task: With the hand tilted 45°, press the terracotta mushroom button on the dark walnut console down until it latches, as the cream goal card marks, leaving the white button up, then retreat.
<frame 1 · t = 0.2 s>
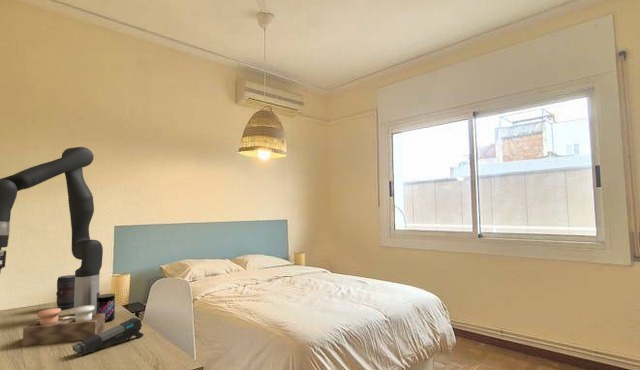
supplement container: (105, 321, 143), on the table
gun: (110, 347, 116), on the table
terracotta button: (49, 320, 124), point 7 cm above the table, slide at 0.0 cm
white button: (83, 317, 127), point 7 cm above the table, slide at 0.0 cm
console: (66, 337, 125), on the table
camera lens: (66, 308, 164), on the table
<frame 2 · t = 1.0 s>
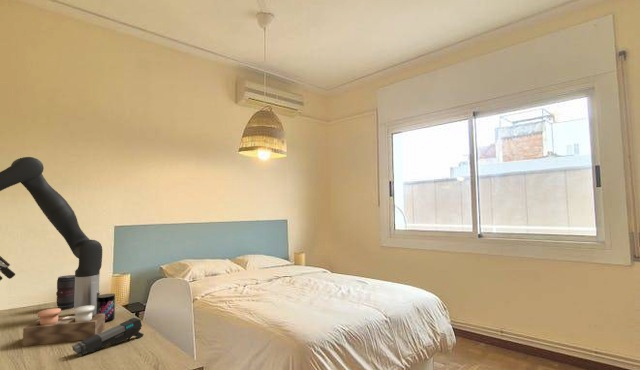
hand: (6, 278, 122), 23 cm above the table, tool tilted 45°, fingers open, 7 cm apart
nothing on the table moved.
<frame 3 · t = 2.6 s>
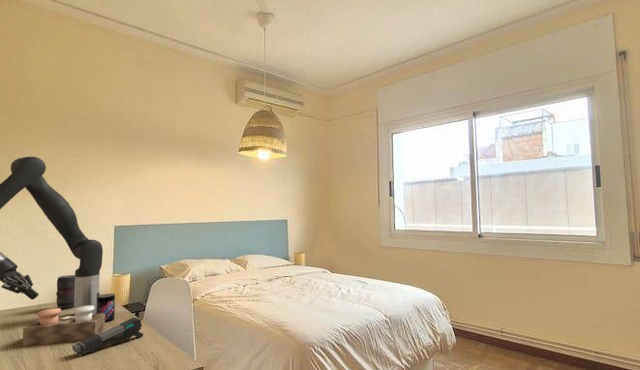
hand: (35, 297, 124), 15 cm above the table, tool tilted 45°, fingers closed
nothing on the table moved.
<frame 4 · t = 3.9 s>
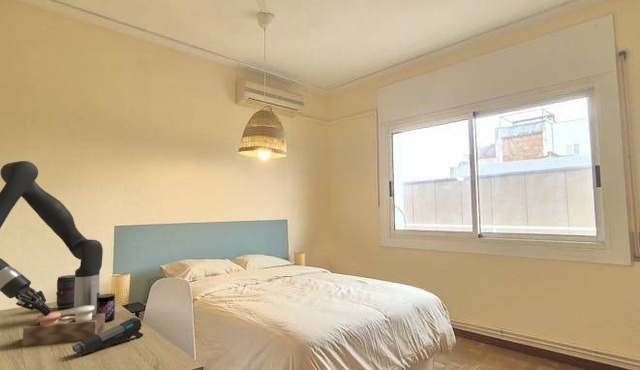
hand: (49, 313, 124), 9 cm above the table, tool tilted 45°, fingers closed
terracotta button: (49, 324, 124), point 5 cm above the table, slide at 1.5 cm, touching gripper
everything else where it was.
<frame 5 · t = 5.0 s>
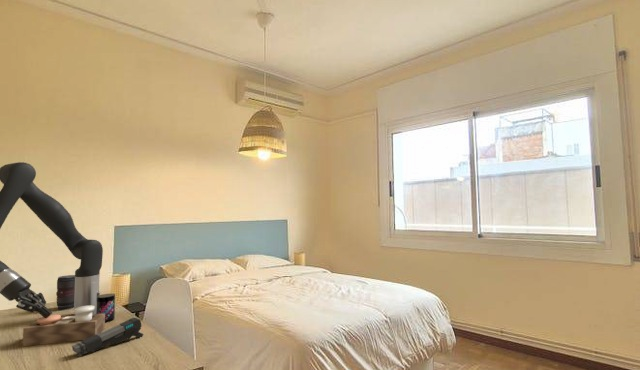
hand: (49, 315, 124), 8 cm above the table, tool tilted 45°, fingers closed
terracotta button: (49, 327, 124), point 4 cm above the table, slide at 2.3 cm
everything else where it was.
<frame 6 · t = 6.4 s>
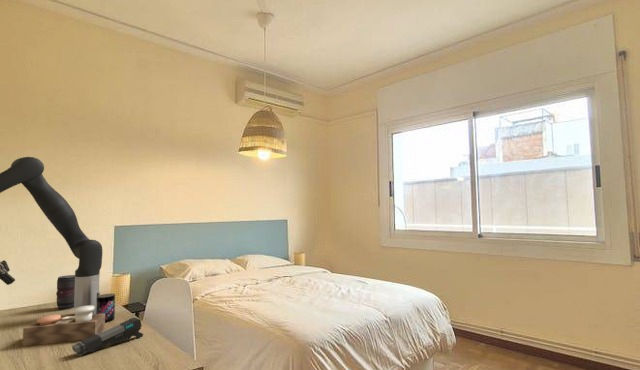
hand: (12, 282, 122), 21 cm above the table, tool tilted 45°, fingers closed
nothing on the table moved.
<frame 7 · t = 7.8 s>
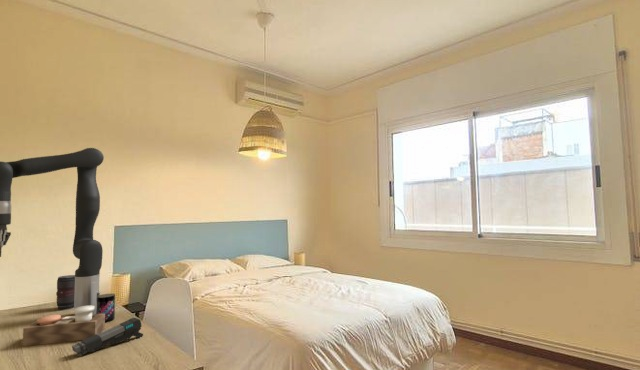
nothing on the table moved.
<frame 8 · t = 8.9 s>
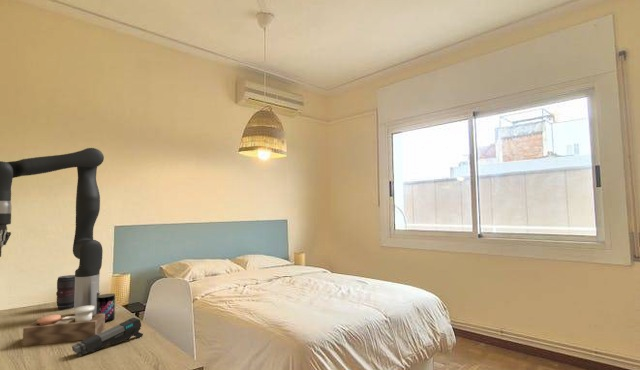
nothing on the table moved.
at the end: terracotta button slide at 2.3 cm; white button slide at 0.0 cm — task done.
